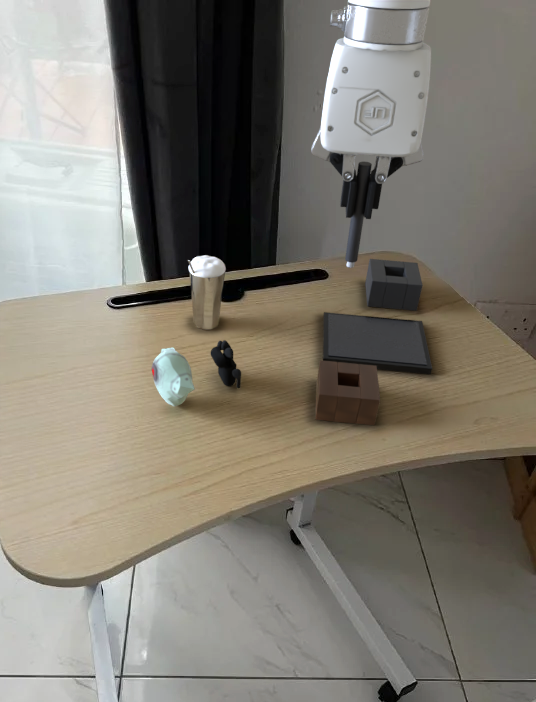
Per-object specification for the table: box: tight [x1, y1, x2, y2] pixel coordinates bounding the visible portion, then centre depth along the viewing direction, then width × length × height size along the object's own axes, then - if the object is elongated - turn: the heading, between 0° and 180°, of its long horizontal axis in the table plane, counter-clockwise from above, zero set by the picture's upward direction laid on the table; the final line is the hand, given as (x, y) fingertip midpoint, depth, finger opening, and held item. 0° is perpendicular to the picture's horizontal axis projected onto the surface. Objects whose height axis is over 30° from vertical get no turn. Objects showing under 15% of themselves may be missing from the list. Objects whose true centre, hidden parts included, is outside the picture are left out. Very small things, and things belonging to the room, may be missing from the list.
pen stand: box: [314, 359, 381, 426], centre depth 73 cm, size 6×6×4 cm
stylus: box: [344, 161, 373, 269], centre depth 74 cm, size 1×1×12 cm
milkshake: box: [187, 254, 227, 331], centre depth 83 cm, size 5×5×10 cm
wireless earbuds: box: [210, 339, 242, 390], centre depth 75 cm, size 7×2×5 cm, turn 19°
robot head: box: [151, 347, 196, 407], centre depth 71 cm, size 8×4×7 cm, turn 20°
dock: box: [364, 258, 424, 312], centre depth 93 cm, size 7×7×4 cm
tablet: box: [322, 311, 433, 375], centre depth 84 cm, size 13×11×1 cm
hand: (358, 212), depth 74 cm, fingers closed on stylus, 1 cm apart
